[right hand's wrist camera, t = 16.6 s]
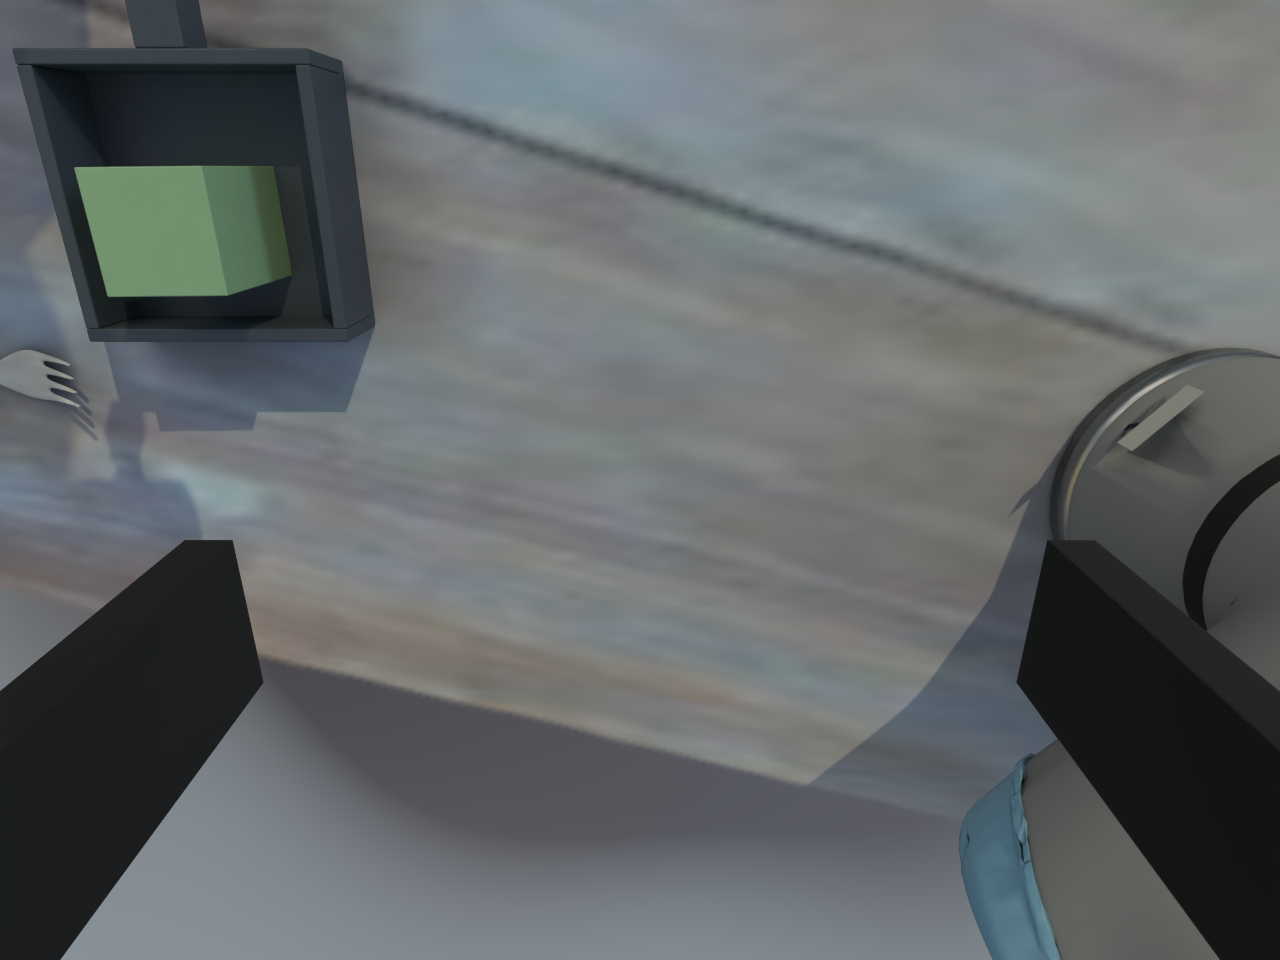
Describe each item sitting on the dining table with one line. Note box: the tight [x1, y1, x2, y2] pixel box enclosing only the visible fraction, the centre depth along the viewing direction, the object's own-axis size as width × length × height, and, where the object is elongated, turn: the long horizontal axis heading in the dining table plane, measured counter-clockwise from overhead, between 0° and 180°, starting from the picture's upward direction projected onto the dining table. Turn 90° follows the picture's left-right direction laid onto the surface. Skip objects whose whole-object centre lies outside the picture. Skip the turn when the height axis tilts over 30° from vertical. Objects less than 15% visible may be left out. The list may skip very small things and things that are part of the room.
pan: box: [13, 0, 375, 342], centre depth 33 cm, size 25×12×4 cm, turn 0°
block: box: [74, 166, 292, 297], centre depth 34 cm, size 5×5×6 cm
